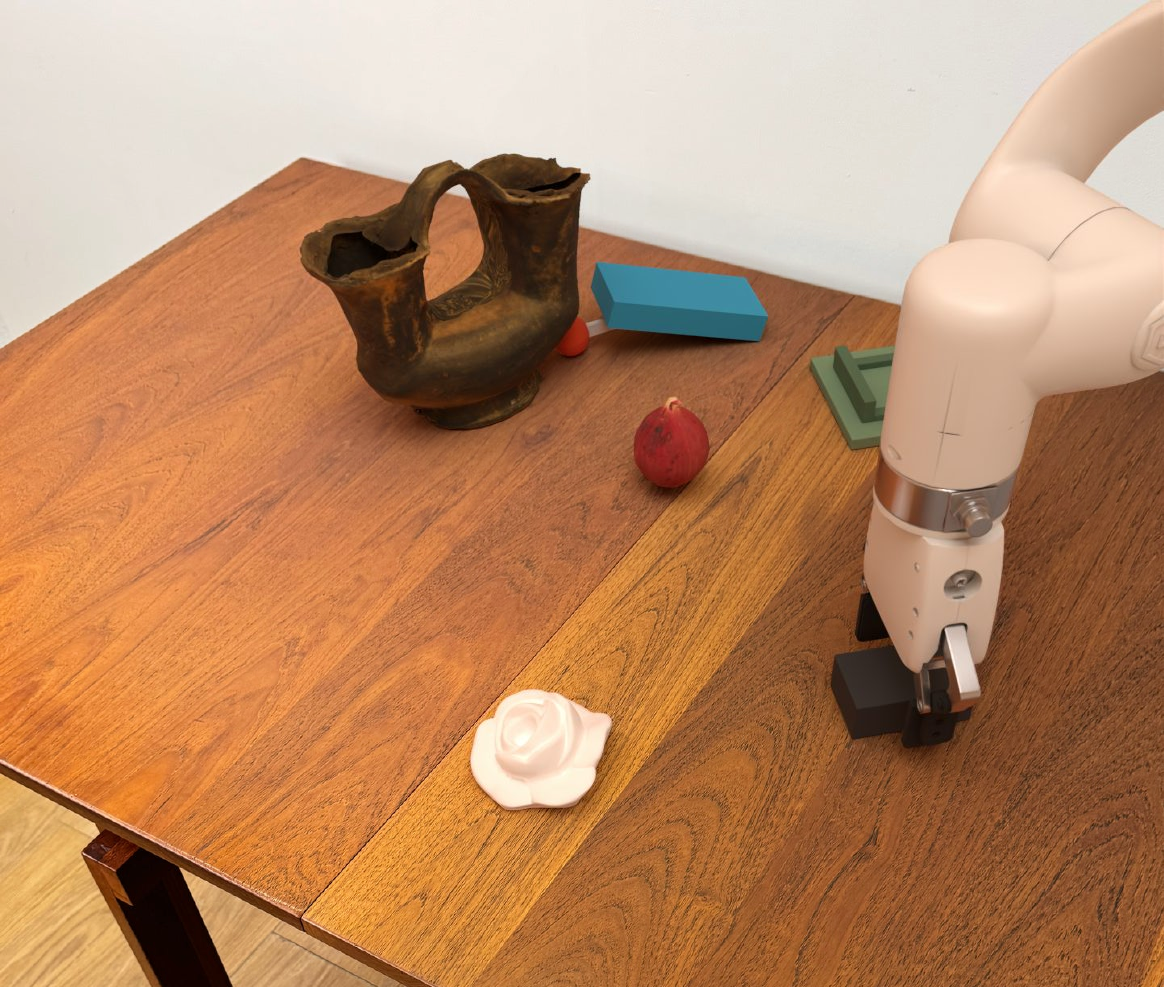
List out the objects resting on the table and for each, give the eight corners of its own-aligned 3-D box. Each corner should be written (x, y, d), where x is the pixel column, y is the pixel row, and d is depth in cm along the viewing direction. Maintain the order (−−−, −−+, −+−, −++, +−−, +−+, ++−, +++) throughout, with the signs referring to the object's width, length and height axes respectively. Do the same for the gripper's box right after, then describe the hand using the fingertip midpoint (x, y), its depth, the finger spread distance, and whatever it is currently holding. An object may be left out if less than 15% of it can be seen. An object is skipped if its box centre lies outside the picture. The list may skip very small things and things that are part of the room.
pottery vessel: (390, 488, 101) (339, 255, 86) (319, 430, 107) (260, 201, 91) (624, 365, 110) (616, 134, 95) (548, 317, 116) (528, 92, 101)
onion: (675, 519, 97) (675, 432, 91) (619, 490, 99) (616, 403, 93) (722, 482, 99) (725, 395, 93) (667, 454, 102) (666, 368, 96)
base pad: (965, 344, 109) (971, 313, 107) (1018, 424, 102) (1026, 393, 99) (809, 368, 108) (812, 336, 106) (850, 450, 101) (854, 419, 99)
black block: (943, 666, 85) (951, 635, 83) (969, 720, 82) (978, 689, 80) (829, 685, 85) (834, 654, 83) (851, 739, 82) (856, 709, 80)
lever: (722, 347, 119) (540, 331, 114) (745, 277, 114) (555, 257, 109) (744, 387, 115) (556, 373, 109) (768, 316, 110) (572, 298, 104)
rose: (646, 735, 77) (507, 801, 75) (647, 780, 81) (514, 844, 78) (568, 639, 83) (436, 697, 80) (572, 684, 86) (446, 741, 84)
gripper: (1074, 567, 64) (1005, 777, 77) (955, 378, 75) (912, 591, 88) (932, 589, 64) (887, 797, 77) (833, 396, 74) (809, 607, 88)
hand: (901, 687), depth 82 cm, fingers open, 9 cm apart
